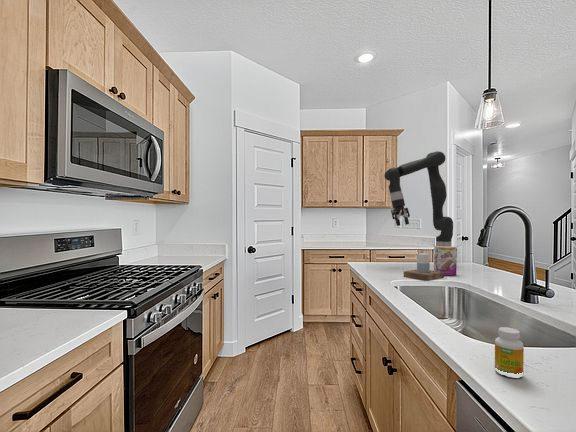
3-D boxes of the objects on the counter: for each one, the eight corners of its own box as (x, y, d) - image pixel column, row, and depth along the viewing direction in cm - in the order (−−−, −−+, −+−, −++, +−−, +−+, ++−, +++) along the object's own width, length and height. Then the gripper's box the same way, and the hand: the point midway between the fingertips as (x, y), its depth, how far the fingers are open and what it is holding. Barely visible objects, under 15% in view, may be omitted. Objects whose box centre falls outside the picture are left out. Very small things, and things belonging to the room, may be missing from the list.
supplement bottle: (497, 377, 75) (497, 332, 75) (492, 366, 80) (492, 324, 80) (526, 381, 73) (526, 335, 73) (519, 370, 78) (520, 327, 78)
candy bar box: (436, 275, 197) (436, 247, 196) (433, 274, 202) (433, 246, 201) (457, 276, 195) (457, 247, 195) (453, 274, 200) (453, 246, 200)
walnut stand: (421, 274, 202) (421, 268, 202) (443, 277, 191) (443, 272, 191) (403, 276, 193) (403, 271, 193) (425, 280, 182) (425, 275, 182)
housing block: (422, 270, 195) (422, 253, 195) (429, 272, 192) (429, 253, 192) (416, 271, 193) (416, 253, 193) (424, 272, 189) (424, 254, 189)
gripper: (395, 198, 209) (400, 225, 207) (409, 197, 217) (415, 222, 215) (385, 201, 215) (390, 227, 213) (399, 200, 223) (405, 225, 222)
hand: (403, 225), depth 214 cm, fingers open, 8 cm apart
